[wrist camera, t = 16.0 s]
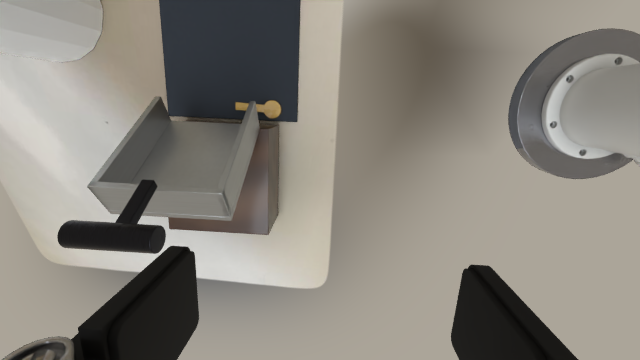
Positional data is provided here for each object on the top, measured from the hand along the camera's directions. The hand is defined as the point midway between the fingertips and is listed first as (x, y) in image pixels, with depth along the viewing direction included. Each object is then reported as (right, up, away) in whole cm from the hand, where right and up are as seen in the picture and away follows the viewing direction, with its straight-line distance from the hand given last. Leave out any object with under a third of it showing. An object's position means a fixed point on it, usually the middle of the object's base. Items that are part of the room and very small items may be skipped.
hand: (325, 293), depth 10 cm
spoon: (-9, +14, +31) cm, 35 cm away
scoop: (-13, +3, +19) cm, 23 cm away
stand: (-13, +5, +34) cm, 36 cm away
